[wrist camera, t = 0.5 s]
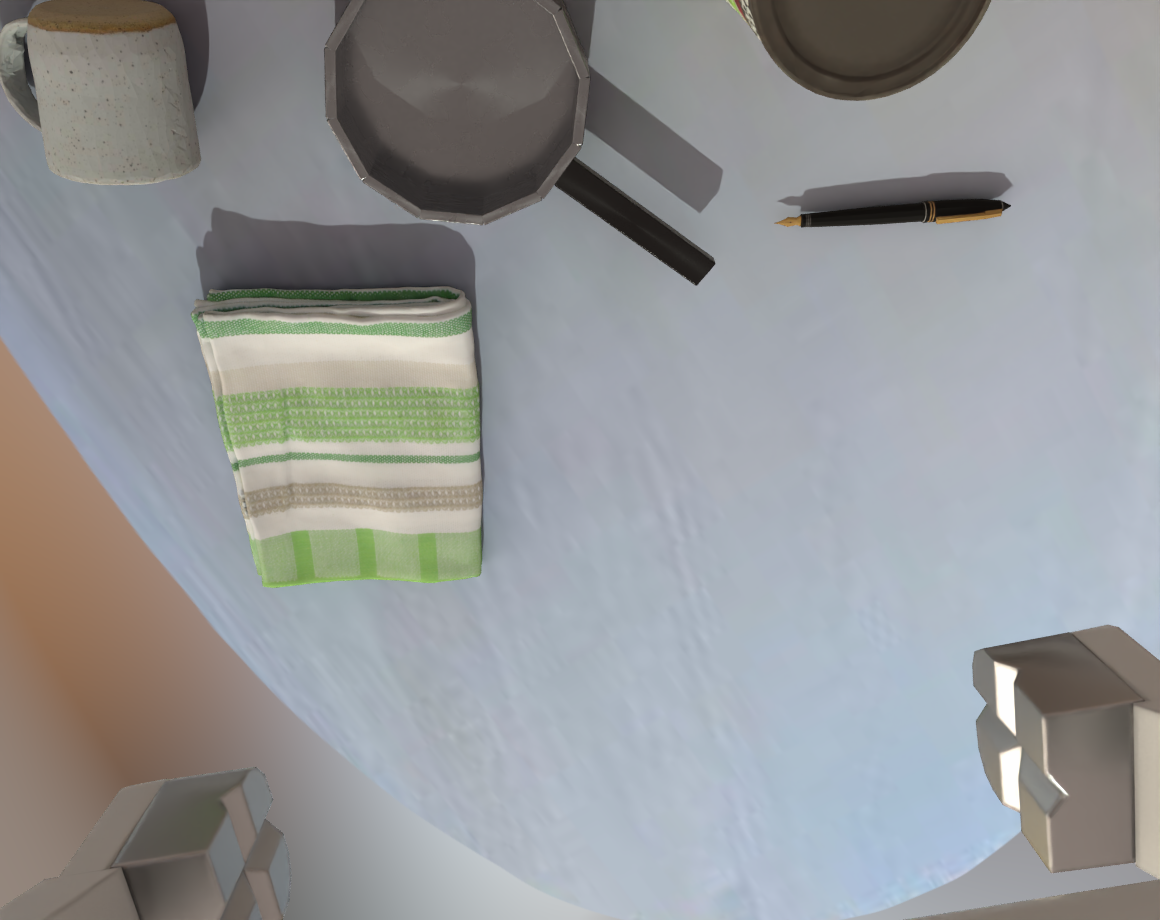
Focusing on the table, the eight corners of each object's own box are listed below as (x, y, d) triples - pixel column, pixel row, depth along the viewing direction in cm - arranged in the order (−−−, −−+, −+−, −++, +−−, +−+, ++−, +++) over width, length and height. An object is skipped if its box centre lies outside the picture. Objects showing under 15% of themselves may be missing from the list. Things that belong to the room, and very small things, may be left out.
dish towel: (474, 282, 63) (471, 307, 60) (489, 565, 76) (487, 596, 73) (196, 283, 63) (179, 308, 60) (259, 568, 76) (247, 600, 73)
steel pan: (420, -117, 51) (413, -110, 48) (775, 165, 60) (787, 185, 57) (290, 109, 57) (277, 127, 54) (630, 335, 66) (634, 361, 63)
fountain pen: (770, 228, 62) (775, 237, 61) (771, 209, 61) (776, 218, 60) (1005, 211, 62) (1015, 220, 61) (1009, 192, 61) (1018, 201, 60)
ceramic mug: (195, -6, 53) (145, 23, 47) (219, 149, 58) (176, 195, 52) (-11, -16, 53) (-88, 13, 47) (30, 141, 58) (-36, 187, 51)
